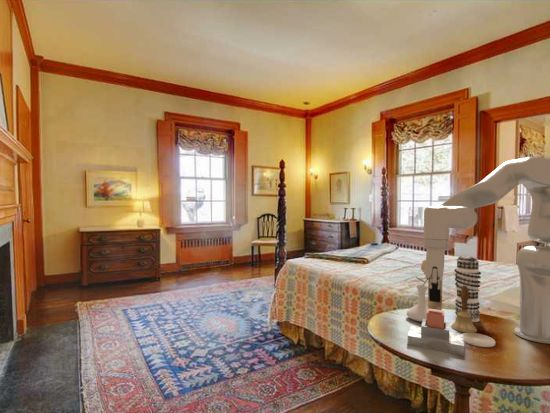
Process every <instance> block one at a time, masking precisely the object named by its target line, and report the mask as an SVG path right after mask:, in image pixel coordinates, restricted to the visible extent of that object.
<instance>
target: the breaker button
mask: <svg viewBox="0 0 550 413" xmlns="http://www.w3.org/2000/svg"><path fill="white" fill-rule="evenodd" d="M444 322H445V310H436V309H428V310H427V326H430V327H436V328H442V329H444Z"/></svg>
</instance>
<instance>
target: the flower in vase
mask: <svg viewBox="0 0 550 413" xmlns="http://www.w3.org/2000/svg"><path fill="white" fill-rule="evenodd" d="M420 270H421V271H422V272H423V274H424V275H425V276H426V259H423V260H422V263H421V266H420ZM415 279H417V280H419V281H421V282H423V283H415V284H414V285H415V287H416V289H417V292H418V302H417V303H416V304H415V305H414V306H412V307H411V308H409V309H408V310H407V311H406V316H407V317H408V318H409V319H411V320H413V321H416V322H419V323H420V322H421V323H422V321H423V319H427V310H428V309H429V308H428V304H426V303H427V302H426V292H427V291H428V284H426V283H427V282H428V279H426V280H425V281H424V279H423V278H422V279H421V278H419V277H417V276H415Z"/></svg>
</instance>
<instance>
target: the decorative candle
mask: <svg viewBox="0 0 550 413" xmlns="http://www.w3.org/2000/svg"><path fill="white" fill-rule="evenodd" d="M455 260H456V265H457V266H456V268H455V269H454V272H455V273H454V276H455V278H454V281H455V283H454V284H455V290H456V295H455V302H456V303H455V306H456V307H455V308H454V309H455V312H454V313H455V316H454V317H455V318H457V313H459V312H461V311H462V300H461V290H462V288H463V286H467V289H468V292H469V298H468V301H467V313H468V314H470V315H471V320H472V323H477V322H480V313H481V312H480V310H479V309H480V308H481V307H480V297H479V292H480V289H479V288H481V285H480V283H481V281H480V280H479V279H481V278H482V276H480V275H482V272H480V268H479V266H480V265H479V264H480V261H479V260H478V258H476V257H475V256H471V255H459V257H457V258H456V259H455Z"/></svg>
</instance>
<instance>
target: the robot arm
mask: <svg viewBox="0 0 550 413" xmlns="http://www.w3.org/2000/svg"><path fill="white" fill-rule="evenodd" d="M519 185H523V187H524V188H525V189H526V190H527V191H528V193H529V194H530V197H531V199H532V204H531V210H530V216H529V222H528V226H527V236H528V237H529V238H530V240H532V241H534V242H537V243H542V244H550V158H548V157H538V156H528V157H522V158H516V159H510V160H507V161H505V162H503V163H501V164H499V166H498V167H496V168H495V169H494V170H492V172H490V173H489V174H488V175H486V176H485V177H484V178H482V180H480V181H478V182H477V183H476V184H474V185H471V186H470V187H467V188H465V189H464V190H461V191H459V192H457V193H456V194H454V195H452V196H451V197H450V198H448V199H447V200H445V201H444V202H443V203H442V204H441V205H440V206H427V207H425V208H424V210H423V244H422V246H423V249H426V254H425V260H426V275H425V277H424V278H425V279H426V280H427V279H428V278H430V288H429V301H433V302H440V291H441V290H440V281H441V280H442V281H443V276H444V271H445V269H444V268H445V256H446V255H445V253H446V252H445V251H449V249H450V229H454V230H469V229H471V228H472V227H474V226H475V225H476V224H477V223H478V214H477V212H476V211H475V210H474V209H478V208H482V207H486V206H489V205H493V204H496V203H498V202H499V201H501V200H502V199H503V198H504V197H506V196H507V195H508V194H509V193H510V192H511V191H513V190H514V189H515V188H516V187H518V186H519ZM516 264H517V267H518V268H517V269H518V273H519V326H516V327H515V328H514V330H513V333H514V334H515V335H516V336H518V337H519V338H523V339H524V340H528V341H532V342H535V343H540V344H547V345H548V344H549V345H550V247H548V246H540V245H527V246H523V247H521V248H520V249H519V250H518V252H517V254H516ZM438 277H439V279H438V280H437V278H438ZM437 282H438V283H437Z"/></svg>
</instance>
